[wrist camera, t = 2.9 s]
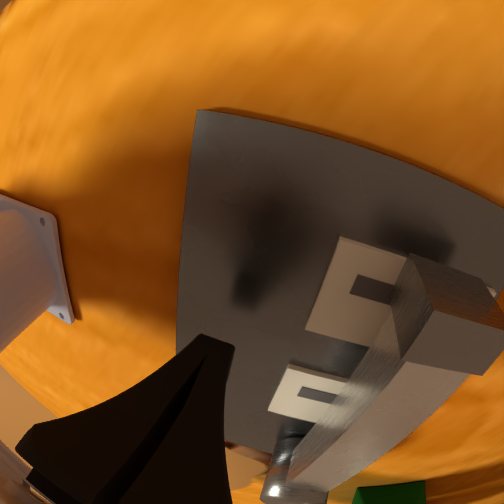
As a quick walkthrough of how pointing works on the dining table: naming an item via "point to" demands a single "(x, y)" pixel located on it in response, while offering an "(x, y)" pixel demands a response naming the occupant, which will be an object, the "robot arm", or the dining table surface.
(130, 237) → the dining table surface
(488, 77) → the dining table surface
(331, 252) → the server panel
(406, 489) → the milk carton
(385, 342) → the bar
